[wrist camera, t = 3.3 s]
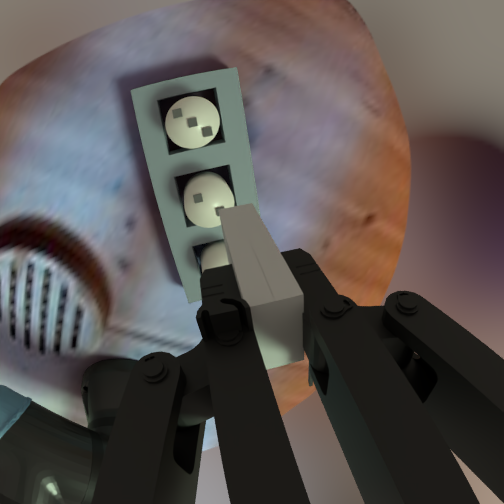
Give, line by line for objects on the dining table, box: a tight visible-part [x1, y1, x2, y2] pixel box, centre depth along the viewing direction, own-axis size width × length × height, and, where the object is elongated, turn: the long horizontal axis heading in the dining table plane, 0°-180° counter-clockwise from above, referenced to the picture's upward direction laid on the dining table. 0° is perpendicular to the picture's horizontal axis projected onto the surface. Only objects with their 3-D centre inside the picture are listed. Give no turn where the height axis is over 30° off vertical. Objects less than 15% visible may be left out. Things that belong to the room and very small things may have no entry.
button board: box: [131, 67, 260, 303], centre depth 28 cm, size 9×22×2 cm, turn 8°
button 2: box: [184, 172, 234, 228], centre depth 26 cm, size 4×4×3 cm
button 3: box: [165, 96, 220, 149], centre depth 23 cm, size 4×4×3 cm
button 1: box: [200, 239, 229, 273], centre depth 30 cm, size 4×4×3 cm
